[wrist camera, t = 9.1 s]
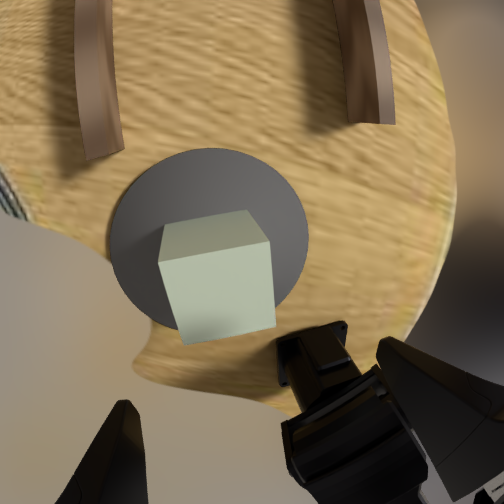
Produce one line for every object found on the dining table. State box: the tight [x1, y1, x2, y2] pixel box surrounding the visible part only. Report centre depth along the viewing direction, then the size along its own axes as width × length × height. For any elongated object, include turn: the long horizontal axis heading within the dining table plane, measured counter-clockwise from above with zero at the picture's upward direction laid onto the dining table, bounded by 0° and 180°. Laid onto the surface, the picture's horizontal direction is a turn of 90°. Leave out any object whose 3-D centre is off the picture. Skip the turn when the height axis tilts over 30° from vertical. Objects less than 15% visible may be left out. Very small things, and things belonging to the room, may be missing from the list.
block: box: [158, 210, 276, 345], centre depth 16 cm, size 5×5×5 cm
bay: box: [74, 0, 396, 161], centre depth 11 cm, size 15×16×4 cm
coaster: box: [110, 148, 309, 330], centre depth 18 cm, size 13×13×1 cm
